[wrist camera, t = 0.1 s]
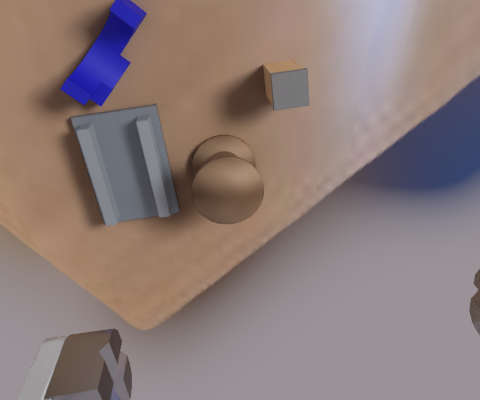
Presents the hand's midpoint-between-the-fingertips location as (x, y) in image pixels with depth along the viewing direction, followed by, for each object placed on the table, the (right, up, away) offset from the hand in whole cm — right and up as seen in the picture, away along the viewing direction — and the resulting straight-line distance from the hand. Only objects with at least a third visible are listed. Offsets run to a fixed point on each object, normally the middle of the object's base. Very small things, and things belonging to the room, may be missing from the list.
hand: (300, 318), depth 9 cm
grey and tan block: (+4, +19, +46) cm, 49 cm away
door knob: (-4, +8, +50) cm, 51 cm away
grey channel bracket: (-17, +7, +49) cm, 52 cm away
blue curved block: (-17, +21, +42) cm, 50 cm away
